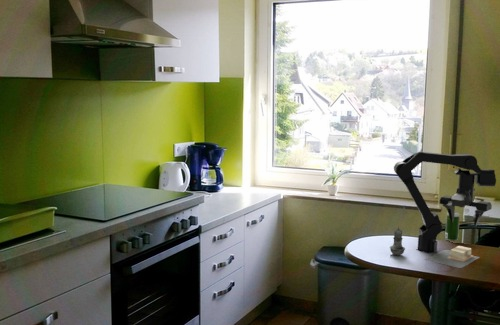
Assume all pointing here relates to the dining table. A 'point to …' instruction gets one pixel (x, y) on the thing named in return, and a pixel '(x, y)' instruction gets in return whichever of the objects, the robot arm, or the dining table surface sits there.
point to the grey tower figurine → (397, 243)
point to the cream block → (460, 253)
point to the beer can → (452, 227)
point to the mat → (450, 259)
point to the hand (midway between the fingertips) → (463, 224)
